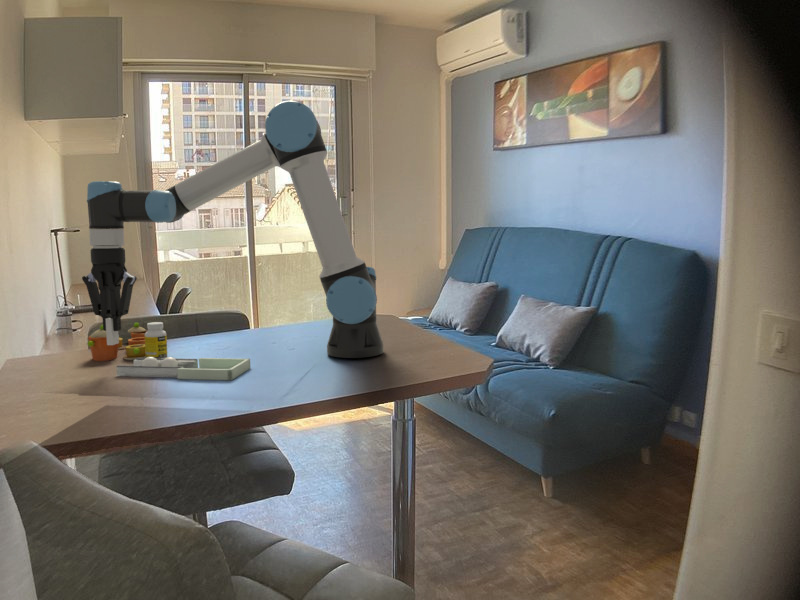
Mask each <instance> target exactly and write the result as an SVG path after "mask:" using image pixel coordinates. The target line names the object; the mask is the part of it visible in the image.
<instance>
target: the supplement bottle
mask: <svg viewBox="0 0 800 600" xmlns="http://www.w3.org/2000/svg"><path fill="white" fill-rule="evenodd" d="M146 328H147V329H146V331H147V332H146V333H145V352H146V358H147V357H154V358H167V357H168V337H167V332H166V331H165V330H164V322H162V321H153V322H148V323H147V324H146Z"/></svg>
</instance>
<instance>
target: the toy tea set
mask: <svg viewBox="0 0 800 600" xmlns="http://www.w3.org/2000/svg"><path fill="white" fill-rule="evenodd" d="M147 331H148V330H147V329H145V328H144V327H142V326H140V323H139V322H134V324H133V327H131V328H129V329H128V330H127V333H129V334H130V337H131V338H129V339H127V342H128V345H126V346H123V337H119V343H118V344H115V345H107V336H106V331H104V329H103V324H101V325H100V326H99V329H97V330H95V331H94V332H93V333H92V334H91V335H89V336H88V337H87V340H88V342H87V344H86V345H87V347H90V351H91V356H92V360H93V361H95V362H106V361H111V360H115V359H117V358H118V350H125V352H126V354H125V355H123V356H122V359H123V360H126V361H133V360H136V358H146V352H145V333H146V332H147Z"/></svg>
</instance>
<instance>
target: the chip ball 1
mask: <svg viewBox="0 0 800 600" xmlns="http://www.w3.org/2000/svg"><path fill="white" fill-rule="evenodd" d="M142 366H159V363H158V360H157V359H156V358H154V357H147V358H145V359H144V360H143V362H142Z"/></svg>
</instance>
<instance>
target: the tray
mask: <svg viewBox="0 0 800 600" xmlns="http://www.w3.org/2000/svg"><path fill="white" fill-rule="evenodd" d="M250 369H251V358H228V357H227V358H226V357H225V358H224V357H223V358H221V357H220V358H218V357H216V358H215V357H214V358H213V357H199V358H198V368H197V369H192V368H178V369H177V375H178V378H177V380H193V381H194V380H198V381H199V380H201V381H203V380H204V381H233V380H235V378H238V377H239V376H241V375H242V374H243V373H245V372H247V371H249V370H250Z"/></svg>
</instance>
